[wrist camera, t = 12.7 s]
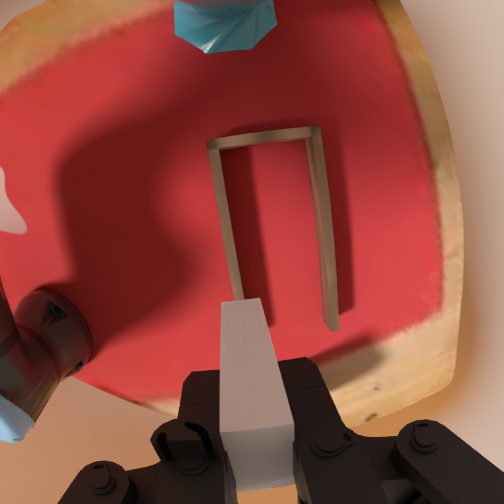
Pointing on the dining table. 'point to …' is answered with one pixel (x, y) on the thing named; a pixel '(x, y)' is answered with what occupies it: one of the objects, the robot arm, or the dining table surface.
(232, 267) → the walnut frame
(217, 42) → the vase
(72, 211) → the dining table surface
